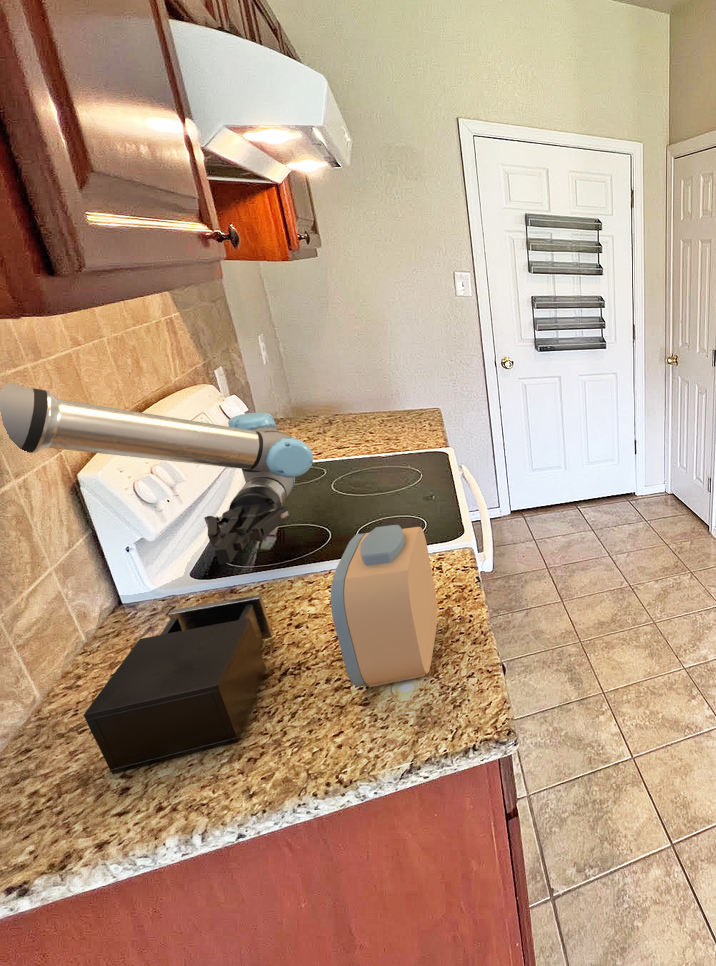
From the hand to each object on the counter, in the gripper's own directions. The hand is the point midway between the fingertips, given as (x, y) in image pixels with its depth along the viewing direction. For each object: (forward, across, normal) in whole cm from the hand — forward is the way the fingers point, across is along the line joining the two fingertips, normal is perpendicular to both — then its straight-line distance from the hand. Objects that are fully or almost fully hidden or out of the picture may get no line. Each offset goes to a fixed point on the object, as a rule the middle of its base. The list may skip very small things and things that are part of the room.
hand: (222, 556), depth 95 cm
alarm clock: (+21, -25, -14) cm, 35 cm away
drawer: (+12, 0, -12) cm, 17 cm away
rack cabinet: (+24, 0, -13) cm, 27 cm away
